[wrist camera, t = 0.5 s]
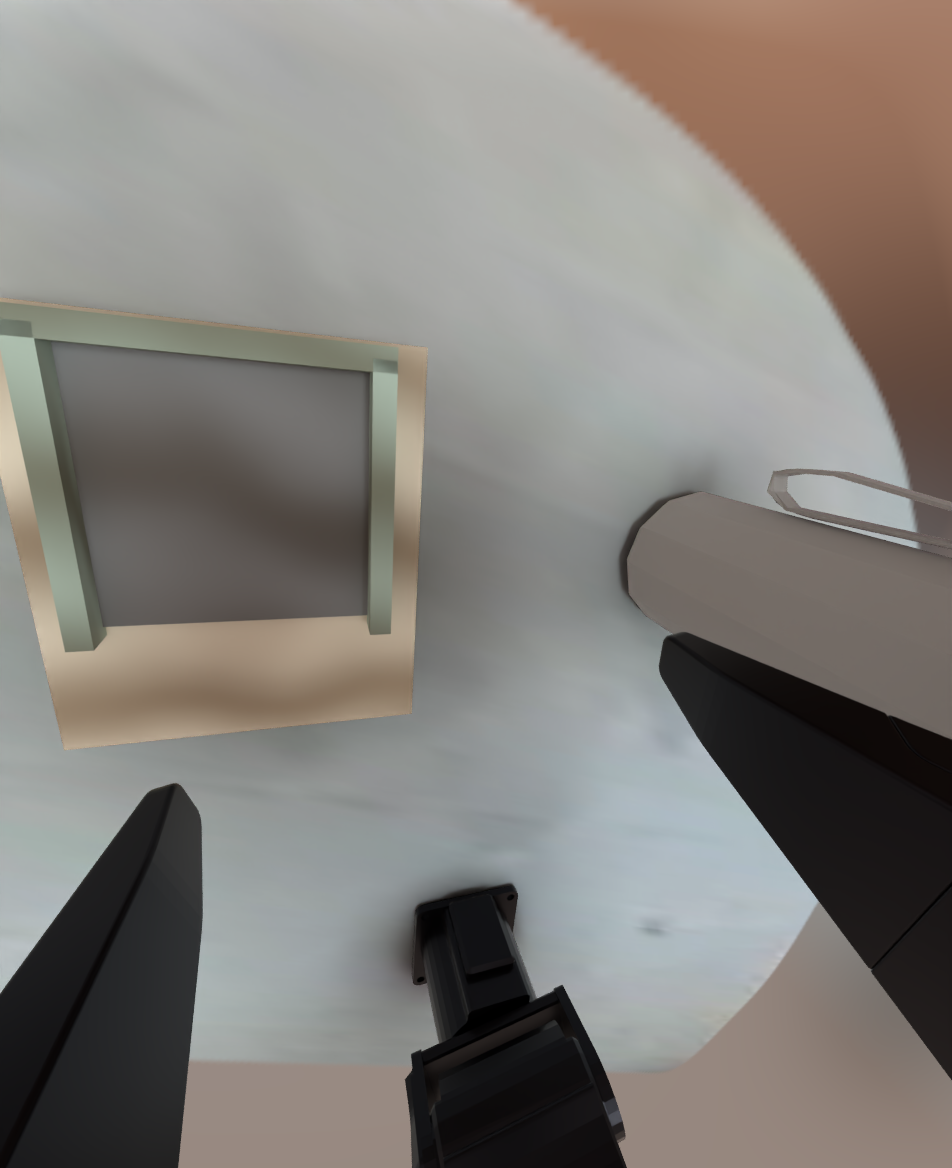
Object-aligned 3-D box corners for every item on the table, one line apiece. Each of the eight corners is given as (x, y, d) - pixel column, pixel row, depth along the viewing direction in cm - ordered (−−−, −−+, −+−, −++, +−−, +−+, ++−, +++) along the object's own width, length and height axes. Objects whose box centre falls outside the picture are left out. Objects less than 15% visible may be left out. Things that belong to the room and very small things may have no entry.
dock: (402, 684, 25) (416, 729, 22) (90, 711, 21) (49, 772, 18) (414, 352, 20) (435, 345, 17) (6, 306, 16) (-73, 284, 13)
